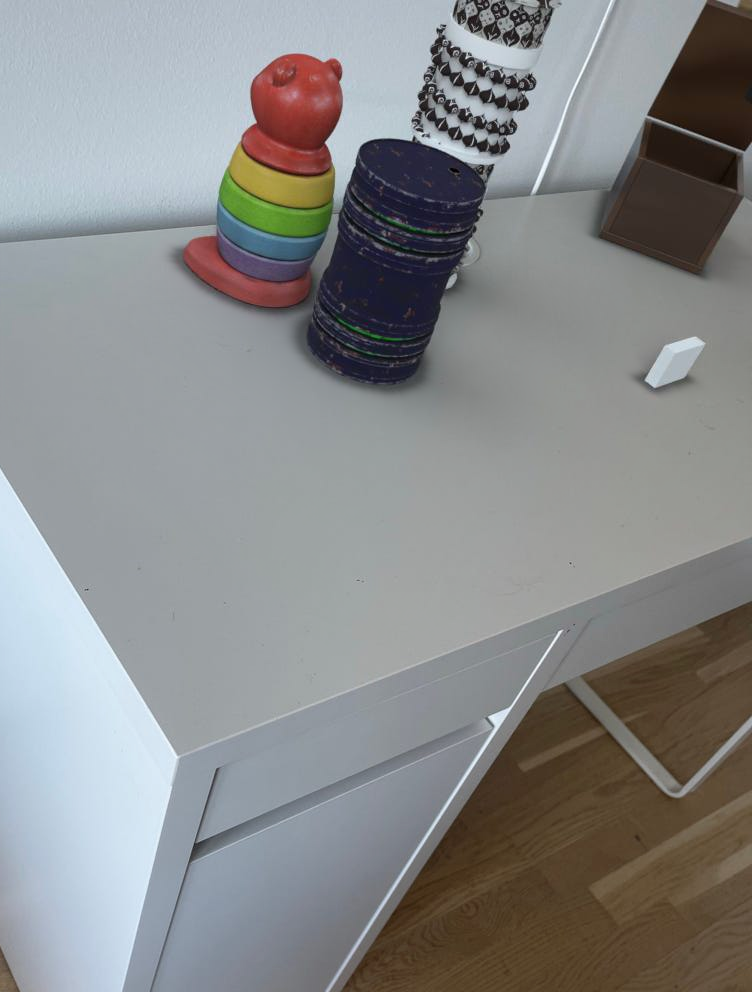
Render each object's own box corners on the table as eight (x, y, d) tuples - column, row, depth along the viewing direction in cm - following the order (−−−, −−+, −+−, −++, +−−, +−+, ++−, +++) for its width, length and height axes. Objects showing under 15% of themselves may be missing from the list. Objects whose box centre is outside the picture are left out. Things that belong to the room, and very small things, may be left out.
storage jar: (338, 390, 77) (399, 203, 66) (284, 318, 82) (332, 135, 71) (441, 380, 81) (514, 204, 71) (384, 313, 87) (443, 139, 76)
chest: (698, 274, 108) (744, 195, 101) (598, 236, 108) (637, 155, 102) (701, 228, 117) (743, 153, 111) (608, 193, 118) (645, 117, 111)
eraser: (684, 377, 91) (706, 343, 89) (654, 388, 89) (675, 353, 86) (674, 370, 92) (695, 335, 89) (644, 380, 89) (664, 345, 87)
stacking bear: (276, 242, 91) (327, 29, 78) (337, 302, 86) (402, 86, 73) (173, 252, 85) (209, 25, 72) (233, 317, 81) (282, 86, 68)
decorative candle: (347, 246, 94) (438, -63, 75) (419, 237, 98) (521, -55, 80) (405, 298, 89) (516, -15, 71) (478, 287, 94) (599, -10, 76)
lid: (819, 43, 96) (831, 7, 97) (706, 2, 97) (719, -33, 98) (744, 152, 110) (756, 119, 111) (646, 115, 111) (658, 83, 112)
